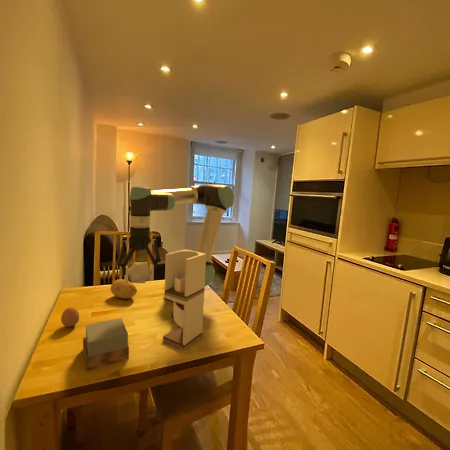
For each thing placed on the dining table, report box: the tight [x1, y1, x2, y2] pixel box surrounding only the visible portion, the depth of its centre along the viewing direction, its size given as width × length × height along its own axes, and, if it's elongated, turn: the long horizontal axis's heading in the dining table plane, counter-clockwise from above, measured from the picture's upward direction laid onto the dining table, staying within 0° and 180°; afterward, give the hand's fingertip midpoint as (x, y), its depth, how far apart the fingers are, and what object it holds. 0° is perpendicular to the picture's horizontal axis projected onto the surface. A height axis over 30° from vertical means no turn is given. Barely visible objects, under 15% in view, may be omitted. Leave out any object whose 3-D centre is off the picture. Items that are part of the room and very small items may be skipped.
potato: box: [110, 278, 138, 300], centre depth 139 cm, size 10×14×10 cm
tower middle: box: [85, 317, 129, 357], centre depth 92 cm, size 12×12×5 cm
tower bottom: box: [82, 336, 130, 372], centre depth 93 cm, size 13×13×5 cm
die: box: [128, 261, 151, 284], centre depth 106 cm, size 8×9×10 cm
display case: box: [162, 248, 206, 351], centre depth 103 cm, size 11×11×35 cm
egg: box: [60, 306, 80, 328], centre depth 109 cm, size 6×6×8 cm
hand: (139, 280), depth 107 cm, fingers closed on die, 9 cm apart
